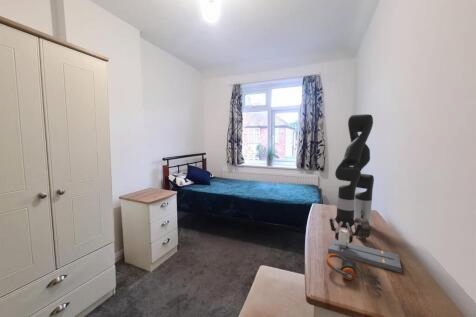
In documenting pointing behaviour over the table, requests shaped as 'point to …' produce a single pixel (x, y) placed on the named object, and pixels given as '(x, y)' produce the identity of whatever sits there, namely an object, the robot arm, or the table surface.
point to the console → (366, 255)
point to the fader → (343, 239)
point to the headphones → (350, 270)
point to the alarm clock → (363, 227)
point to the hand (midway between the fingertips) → (343, 240)
